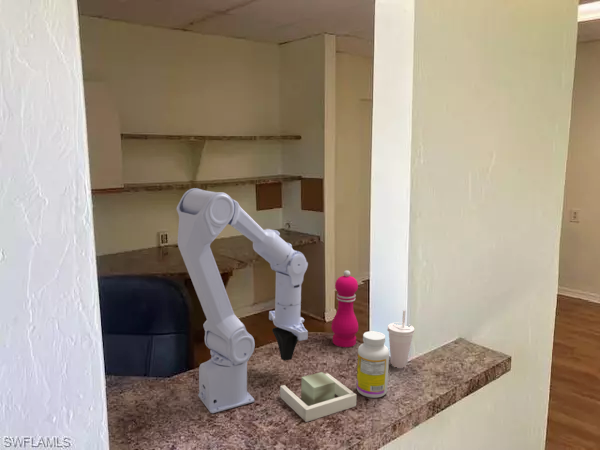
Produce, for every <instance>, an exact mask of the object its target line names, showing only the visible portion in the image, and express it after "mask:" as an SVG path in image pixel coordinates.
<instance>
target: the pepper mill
mask: <svg viewBox="0 0 600 450" xmlns="http://www.w3.org/2000/svg"><path fill="white" fill-rule="evenodd" d="M334 289H335V291H336V292H337V293H336V300H337V302H338V303H337V310H336V313H335V315H334V317H333V319H332V320H331V325H330V326H331V327H330V328H331V331H332V332H333V335H332V344H334V345H335V346H336V347H341V348H351V347H354V346H355V345H356V344H357V336H356V334H357V333H358V331H359V322H358V319H357V316H356V313H355V312H354V311H355V310H354V302H355V301H356V296H357V295H356V294H355V293H356V292H357V291H358V289H359V283H358V280H357V279H356V278H355V277H354V276H351V271H350V270H344V272H343V275H342V276H339V277H338V278H337V279H336V281H335V285H334Z"/></svg>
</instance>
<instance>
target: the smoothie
mask: <svg viewBox="0 0 600 450" xmlns="http://www.w3.org/2000/svg"><path fill="white" fill-rule="evenodd" d="M405 321H406V309H403V310H402V322H401V323H402V325H398V324H397V325H396V324H394V323H395V322H391V323H389V324H388V325H387V329H386V330H387V332H388V337H389V340H388V341H389V357H390V365H391V364H392V365H393V366H394V367H393V366H392V365H391V366H392V367H393V368H395V367H397V368H396V369H404V368H403V367H405V366H406V365H407V364H408V361H409V355H410V350H411V344H412V341H413V335H414V334H415V327H414V326H413V325H411V326H410V327H408V326H405V323H406V322H405ZM406 367H407V366H406ZM406 367H405V368H406Z"/></svg>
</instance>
